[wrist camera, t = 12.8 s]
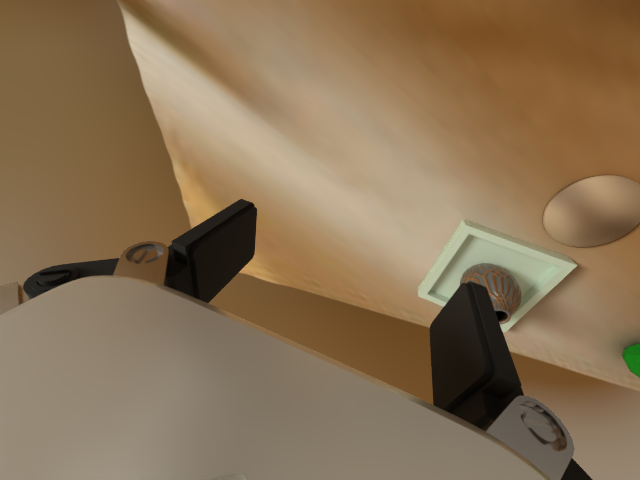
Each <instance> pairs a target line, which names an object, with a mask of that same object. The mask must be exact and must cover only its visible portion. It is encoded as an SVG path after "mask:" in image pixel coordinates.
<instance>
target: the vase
mask: <svg viewBox="0 0 640 480" xmlns="http://www.w3.org/2000/svg"><path fill="white" fill-rule="evenodd" d="M469 281H471V282H474V283H477V284H480V285H483V286H485V287H486V288H487V290H488V293H489V296H490V298H491V301H492V304H493V307H494V310H495V312H496V315H497V318H498V321H499V324H504V323H507V322H508V321H510V319H511V316H512V315H513V314H514V313H515V312H516V311H517V310H518V308H519V306H520V304H521V289H520V286H519V284H518V282H517V280H516V279H515V278H514V276H513V275H512V274H511V273H510V272H509V271H507V270H506V269H504V268H503V267H501V266H498V265H496V264H491V263H481V264H476V265H473V266H471V267H470V268H468V269H467V270H466V271H465V272H464V273H463V275H462V277H461V280H460V285H461V284H462V283H467V282H469Z"/></svg>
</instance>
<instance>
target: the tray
mask: <svg viewBox="0 0 640 480" xmlns="http://www.w3.org/2000/svg"><path fill="white" fill-rule="evenodd" d="M481 263H491V264H496V265H498V266H501V267H503V268H504V269H506V270H507V271H509V272H510V273H511V274H512V275H513V276H514V278H515V279H516V280H517V282H518V284H519V286H520V289H521V304H520V306H519V308H518V310H517V311H516V312H515V313H514V314H513V315H512V316H511V319H510V321H508V322H507V323H504V324H500V326H501V329H502V331H503V332H506V331H507V330H509V329H510V328H511V327H512V326H513V325H514V324H515V323H516V322H517V321H518V320H519V319H520V318H521V317H523V316H524V315H525V314H526V313H527V312H528V311H529V310H530V309H531V308H532V307H533V306H534V305H535V304H537V303H538V302H539V301H540V300H541V299H542V298H543V297H544V296H545V295H546V294H547V293H548V292H549V291H551V290H552V289H553V288H554V287H555V286H556V285H557V284H558V283H559V282H560V281H561V280H562V279H563V278H565V277H566V276H567V275H568V274H569V273H570V272H571V271H572V270H573V269H574V268H575V267H576V266H577V265H576V264H575V263H574V262H573V261H572V260H571V259H570V258H569V257H567V256H565V255H562V254H559V253H556V252H554V251H551V250H548V249H545V248H542V247H540V246H537V245H534V244H531V243H528V242H526V241H523V240H520V239H517V238H515V237H512V236H509V235H506V234H503V233H501V232H498V231H495V230H492V229H490V228H487V227H484V226H481V225H478V224H476V223H473V222H470V221H467V220H464V219H463V220H462V221H461V223H460V224H459V226H458V227H457V229H456V231H455V232H454V234H453V235H452V237H451V238H450V240H449V241H448V243H447V244H446V246H445V247H444V249H443V251H442V252H441V254H440V255H439V257H438V258H437V260H436V261H435V263H434V264H433V266H432V267H431V269H430V270H429V272H428V274H427V275H426V277H425V278H424V280H423V281H422V283H421V284H420V286H419V287H418V296H419V297H421V298H424V299H426V300H429V301H431V302H433V303H436V304H438V305H441V306H443V307H444V306H445V305H446V303H447V302H448V301H449V299H450V298H451V297H452V295H453V294H454V293H455V291H456V290H457V289H458V287H459V286H460V280H461V277H462V275H463V273H464V272H465V271H466V270H467V269H468V268H470V267H471V266H473V265H476V264H481Z"/></svg>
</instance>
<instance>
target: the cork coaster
mask: <svg viewBox="0 0 640 480" xmlns="http://www.w3.org/2000/svg"><path fill="white" fill-rule="evenodd" d="M639 223H640V185H639V184H638V183H637V182H635V181H633V180H630V179H628V178H625V177H621V176H616V175H599V176H593V177H588V178H585V179H582V180H579V181H576V182H574V183H572V184H570V185H568V186H566V187H565V188H563V189H562V190H560V191H559V192H558V193H557V194H556V195H555V196H554V197H553V198H552V199H551V200H550V201H549V203H548V204H547V206H546V208H545V210H544V213H543V226H544V228H545V230H546V232H547V233H548V234H549V235H550V236H551V237H552V238H553V239H554V240H556V241H558V242H560V243H562V244H565V245H568V246H574V247H591V246H597V245H602V244H606V243H609V242H611V241H614V240H616V239H618V238H620V237H622V236H624V235H625V234H627V233H629V232H630V231H631V230H632V229H634V228H635V227H636V226H637V225H638V224H639Z"/></svg>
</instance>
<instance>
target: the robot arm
mask: <svg viewBox="0 0 640 480" xmlns="http://www.w3.org/2000/svg"><path fill="white" fill-rule="evenodd" d="M256 218H257V208H256V207H254V204H253V203H251V202H249V201H246V200H243V199H240V200H238V201H237V202H235V203H234V204H232V205H230V206H229V207H227V208H225V209H224V210H222V211H220V212H219V213H217V214H215V215H214V216H212V217H211V218H209V219H207V220H206V221H204V222H202V223H201V224H199V225H197V226H196V227H194V228H193V229H191V230H189V231H188V232H186V233H184V234H183V235H181V236H179V237H178V238H176V239H174V240H173V241H172V245H170V246H169V247H167V246H166V245H165V244H162V243H160V242H155V241H147V242H140V243H137V244H134V245H132V246H129V247H128V248H126V249H125V250H124V251H123V252H122V254H121V255H120V258H117V259H108V260H98V261H89V262H82V263H71V264H63V265H58V266H52V267H49V268H46V269H43V270H41V271H39V272H37V273H35V274H34V275H32V276H31V277H29V278H28V279H27V280H26V281H25V283H24V284H23V285H19V283H18V282H14V283H10V284H6V285H2V286H0V480H592V479H591V478H590V477H589V476H588V475H587V473H586V472H585V471H584V470H583V469H582V468H581V467H580V466H579V465H578V464H577V463H576V462H575V461H574V460H573V459H572V456H573V453H574V445H573V441H572V438H571V436H570V434H569V432H568V430H567V429H566V427H565V426H564V425H563V423H562V422H561V420H560V419H559V418H558V417H557V416H556V415H555V414H554V413H553V412H552V411H551V410H550V409H549V408H548V407H546V406H545V405H544V404H543V403H541V402H539V401H538V400H536V399H534V398H531V397H528V396H524V394H523V391H522V389H521V383H520V380H519V377H518V374H517V372H516V369H515V366H514V363H513V360H512V357H511V355H510V352H509V349H508V346H507V343H506V341H505V338H504V335H503V332H502V329H501V326H500V324H499V321H498V318H497V315H496V312H495V310H494V307H493V304H492V301H491V298H490V296H489V293H488V290H487V288H486V287H485V286H483V285H480V284H477V283H474V282H471V281H469V282H467V283H462V284H461V285H460V286H459V287H458V289H457V290H456V291H455V293H454V294H453V295H452V297H451V298H450V299H449V301H448V302H447V303H446V305H445V306H444V307H443V309H442V310H441V311H440V313H439V314H438V315H437V317H436V318H435V319H434V321H433V322H432V324H431V326H430V346H431V366H432V385H433V404H434V405H432V404H430V403H427V402H425V401H423V400H421V399H419V398H417V397H415V396H413V395H411V394H408V393H406V392H404V391H402V390H400V389H398V388H395V387H393V386H391V385H389V384H387V383H384V382H382V381H380V380H378V379H376V378H373V377H371V376H369V375H367V374H364V373H362V372H360V371H358V370H356V369H354V368H351V367H349V366H347V365H345V364H343V363H340V362H338V361H336V360H334V359H332V358H329V357H327V356H325V355H322V354H320V353H318V352H316V351H314V350H312V349H309V348H307V347H305V346H303V345H300V344H298V343H296V342H294V341H292V340H289V339H287V338H285V337H282V336H280V335H278V334H276V333H274V332H271V331H269V330H267V329H265V328H262V327H260V326H258V325H256V324H253V323H251V322H249V321H247V320H244V319H242V318H240V317H238V316H235V315H233V314H231V313H228V312H226V311H224V310H222V309H219V308H217V307H215V306H213V305H210V304H208V303H209V301H211V300H212V299H213V298H214V297H215V296H216V295H217V294H218V293H219V292H220V291H221V290H222V288H224V287H225V286H226V284H228V283H229V282H230V281H231V279H232V278H233V277H234V276H235V275H236V274H237V273H238V272H239V271H240V270H241V269H242V268H243V267H244V266H245V265H246V264H247V263H248V262H249V261H250V260H251V259H252V258H253V256H254V252H255V236H256Z"/></svg>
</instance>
